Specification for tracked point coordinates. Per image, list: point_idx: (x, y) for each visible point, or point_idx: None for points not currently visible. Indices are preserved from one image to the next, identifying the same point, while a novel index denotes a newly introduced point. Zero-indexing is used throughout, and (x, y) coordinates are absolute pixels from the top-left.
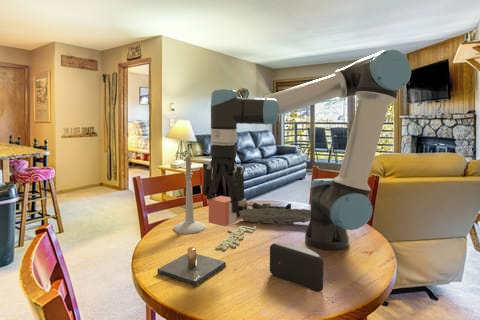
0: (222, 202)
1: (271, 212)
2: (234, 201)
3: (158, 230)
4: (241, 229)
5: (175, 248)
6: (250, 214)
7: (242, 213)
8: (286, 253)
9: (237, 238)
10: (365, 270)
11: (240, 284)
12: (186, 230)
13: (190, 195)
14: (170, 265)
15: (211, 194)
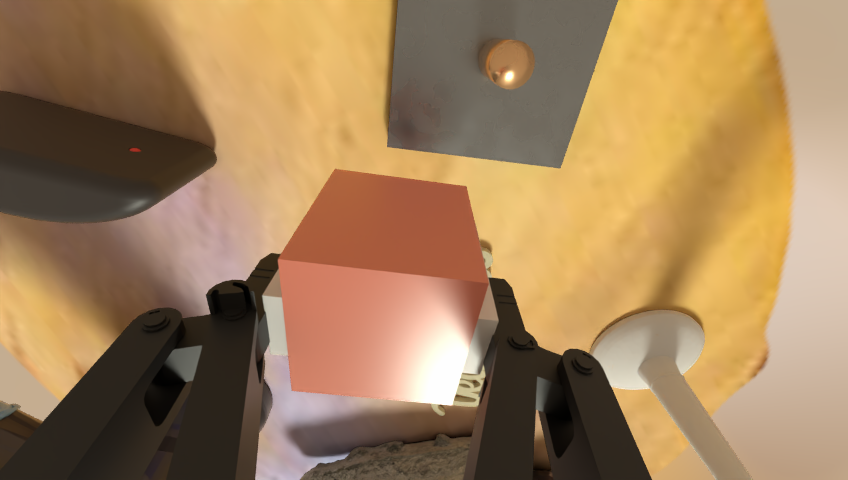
0: (319, 261)
1: (406, 478)
2: (220, 306)
3: (758, 304)
4: (469, 387)
5: (637, 200)
6: None
7: None
8: (54, 156)
9: None
10: (18, 283)
11: (261, 29)
12: (647, 324)
13: (725, 476)
14: (588, 12)
15: (495, 359)
